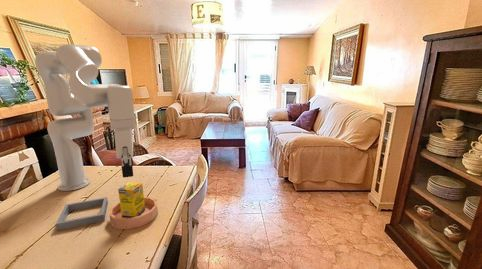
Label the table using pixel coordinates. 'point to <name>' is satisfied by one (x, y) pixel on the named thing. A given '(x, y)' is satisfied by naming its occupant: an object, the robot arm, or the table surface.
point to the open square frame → (82, 221)
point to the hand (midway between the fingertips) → (128, 171)
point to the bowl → (137, 221)
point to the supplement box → (131, 199)
